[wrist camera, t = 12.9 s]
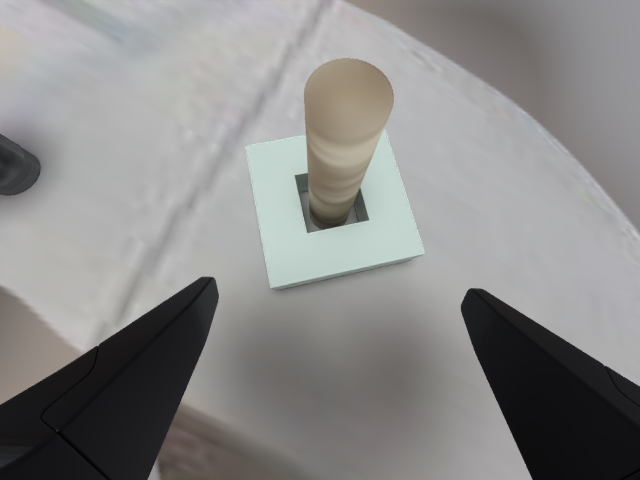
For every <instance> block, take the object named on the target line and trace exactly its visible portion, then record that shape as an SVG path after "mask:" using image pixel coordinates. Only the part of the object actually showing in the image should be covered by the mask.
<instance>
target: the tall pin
mask: <svg viewBox="0 0 640 480" xmlns="http://www.w3.org/2000/svg"><path fill="white" fill-rule="evenodd" d="M393 102H394V94H393V89H392V86H391V84H390V82H389V80H388V79H387V77H386V76H385V75H384V74H383V73H382V72H381V71H380V70H379V69H378V68H376V67H375V66H373V65H371V64H369V63H367V62H365V61H361V60H357V59H350V58H345V59H336V60H332V61H329V62H327V63H325V64H323V65H321V66H320V67H318V68H317V69H316V70H315V71H314V72H313V73H312V74H311V75H310V77H309V78H308V80H307V83H306V86H305V90H304V103H305V124H306V145H307V167H308V188H309V210H310V217H311V220H312V222H313V223H314V224H315V225H316V226H317V227H318V228H320V229H323V230H325V229H330V228H335V227H339V226H342V225H343V224H344V223H345V222H346V220H347V218H348V215H349V213H350V210H351V208H352V205H353V203H354V200H355V198H356V196H357V193H358V191H359V188H360V186H361V183H362V181H363V178H364V176H365V174H366V171H367V169H368V166H369V164H370V161H371V159H372V157H373V154H374V152H375V149H376V147H377V144H378V142H379V139H380V137H381V135H382V132H383V130H384V127H385V125H386V122H387V120H388V117H389V115H390V113H391V110H392V107H393Z"/></svg>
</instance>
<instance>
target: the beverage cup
mask: <svg viewBox="0 0 640 480" xmlns="http://www.w3.org/2000/svg"><path fill="white" fill-rule="evenodd" d="M39 173H40V164H39V161H38V159H37V158H36V157H35V156H34V155H32V154H30V153H29V152H27V151H26V150H24V149H23V148H21V147H20V146H19V145H18V144H16V143H14V142H13V141H11V140H9V139H8V138H6V137H5V136H3V135H1V134H0V194H4V195H15V194H18V193H21V192H23V191H25V190H26V189H28V188H29V187H31V186H32V185H33V183H34V182H35V181H36V180H37V178H38V176H39Z"/></svg>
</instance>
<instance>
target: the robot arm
mask: <svg viewBox="0 0 640 480" xmlns="http://www.w3.org/2000/svg"><path fill="white" fill-rule="evenodd" d="M218 299H219V294H218V289H217V285H216V280H215V278H213V277H201V278H199V279H198V280H196V281H195V282H193V283H192V284H190V285H189V286H187V287H185V288H184V289H182V290H181V291H179V292H178V293H176V294H175V295H173V296H172V297H170V298H169V299H167V300H166V301H164V302H163V303H161V304H160V305H158V306H157V307H155V308H154V309H152V310H151V311H149V312H147V313H146V314H144V315H143V316H141V317H140V318H138V319H137V320H135V321H134V322H132V323H131V324H129V325H128V326H126V327H125V328H123V329H122V330H120V331H119V332H117V333H116V334H114V335H112V336H111V337H109V338H108V339H106V340H105V341H103V342H102V343H100V344H99V346H96V347H94V348H93V349H91V350H90V351H88V352H86V353H85V354H83V355H82V356H80V357H79V358H77V359H76V360H74V361H73V362H71V363H69V364H68V365H66V366H65V367H63V368H62V369H60V370H58V371H57V372H55V373H53V374H52V375H50V376H48V377H47V378H45V379H43V380H42V381H40V382H38V383H37V384H35V385H34V386H32V387H30V388H28V389H27V390H25V391H23V392H22V393H20V394H18V395H16V396H15V397H13V398H11V399H9V400H8V401H6V402H4V403H3V404H1V405H0V480H147V479H148V477H149V475H150V472H151V470H152V468H153V465H154V463H155V461H156V458H157V456H158V453H159V451H160V449H161V446H162V444H163V442H164V439H165V437H166V435H167V432H168V430H169V428H170V425H171V423H172V421H173V418H174V416H175V413H176V411H177V409H178V406H179V404H180V402H181V399H182V397H183V395H184V392H185V390H186V388H187V385H188V383H189V381H190V378H191V376H192V373H193V371H194V369H195V366H196V364H197V362H198V359H199V357H200V355H201V352H202V350H203V348H204V345H205V342H206V340H207V337H208V334H209V330H210V327H211V324H212V320H213V317H214V313H215V310H216V307H217V303H218ZM461 312H462V315H463V318H464V321H465V324H466V327H467V330H468V333H469V336H470V339H471V342H472V345H473V348H474V351H475V353H476V355H477V358H478V360H479V362H480V365H481V367H482V369H483V371H484V373H485V376H486V378H487V380H488V382H489V384H490V387H491V389H492V391H493V393H494V396H495V398H496V400H497V402H498V404H499V407H500V409H501V411H502V413H503V415H504V418H505V420H506V422H507V424H508V426H509V429H510V431H511V433H512V435H513V438H514V440H515V442H516V444H517V446H518V449H519V451H520V453H521V455H522V457H523V460H524V462H525V464H526V466H527V469H528V471H529V473H530V475H531V477H532V480H640V386H638V385H636V384H635V383H633V382H631V381H630V380H628V379H626V378H625V377H623V376H621V375H620V374H618V373H617V372H615V371H614V370H612V369H610V368H609V367H607V366H604V365H603V364H602V363H601V362H599V361H597V360H596V359H594V358H593V357H591V356H589V355H588V354H586V353H585V352H583V351H581V350H580V349H578V348H577V347H575V346H573V345H572V344H570V343H569V342H567V341H565V340H564V339H562V338H560V337H559V336H557V335H556V334H554V333H552V332H551V331H549V330H548V329H546V328H544V327H543V326H541V325H540V324H538V323H536V322H535V321H533V320H532V319H530V318H528V317H527V316H525V315H524V314H522V313H520V312H519V311H517V310H516V309H514V308H512V307H511V306H509V305H508V304H506V303H504V302H503V301H501V300H500V299H498V298H496V297H495V296H493V295H492V294H490V293H488V292H487V291H485V290H483V289H479V288H471V289H469V290H468V291H467V293H466V295H465V297H464V300H463V302H462V304H461Z"/></svg>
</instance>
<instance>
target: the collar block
mask: <svg viewBox="0 0 640 480" xmlns="http://www.w3.org/2000/svg"><path fill="white" fill-rule="evenodd" d="M245 148H246V154H247V160H248V165H249V171H250V177H251V182H252V188H253V194H254V199H255V205H256V211H257V216H258V222H259V228H260V233H261V239H262V245H263V250H264V256H265V262H266V267H267V273H268V279H269V284H270V288H271V289H275V290H280V289H284V288H289V287H293V286H298V285H302V284H307V283H311V282H316V281H320V280H325V279H329V278H334V277H338V276H342V275H347V274H351V273H356V272H360V271H365V270H369V269H374V268H378V267H383V266H387V265H392V264H396V263H400V262H405V261H409V260H412V259H414V258H416V257H419V256H421V255H423V254H425V251H424V248H423V245H422V242H421V238H420V235H419V232H418V229H417V226H416V223H415V220H414V217H413V214H412V210H411V207H410V204H409V201H408V198H407V195H406V192H405V189H404V185H403V182H402V179H401V176H400V173H399V170H398V167H397V164H396V161H395V157H394V154H393V151H392V148H391V145H390V142H389V139H388V136H387V132H386V129H385V127H384V130H383V132H382V135H381V137H380V139H379V142H378V144H377V147H376V149H375V152H374V154H373V157H372V159H371V161H370V164H369V166H368V169H367V171H366V174H365V176H364V178H363V181H362V183H361V186H360V188H359V191H358V193H357V196H356V198H355V200H354V206H355V210H356V214H357V217H358V221H359V223H354V224H349V225H344V226H339V227H335V228H330V229H325V230H320V231H316V232H311V233H307V230H306V226H305V221H304V216H303V212H302V207H301V203H300V198H299V194H298V193H299V192H304V191H309V188H308V167H307V145H306V135H301V136H295V137H290V138H284V139H279V140H273V141H268V142H262V143H257V144H251V145H246V146H245Z"/></svg>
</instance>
